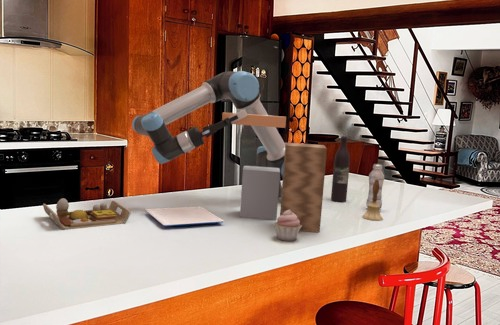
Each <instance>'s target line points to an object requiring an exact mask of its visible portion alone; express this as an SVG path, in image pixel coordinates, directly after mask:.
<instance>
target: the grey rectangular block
mask: <svg viewBox="0 0 500 325" xmlns="http://www.w3.org/2000/svg"><path fill="white" fill-rule="evenodd" d="M279 179H280V180H281V177H280V169H279V168H272V167H257V166H256V165H243V168H242V177H241V180H242V181H241V190H240V191H241V195H240V196H241V197H240V209H239V210H240V211H239V218H245V219H246V218H247V219H260V220H272V221H273V220H274V221H275V220H276V221H277V219H278V217H277V216H278V205H279V197H278V193H279Z"/></svg>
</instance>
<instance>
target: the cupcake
mask: <svg viewBox="0 0 500 325" xmlns="http://www.w3.org/2000/svg"><path fill="white" fill-rule="evenodd" d="M273 226H274V228H275V231H276V238H277V239H278V240H280V241H284V242H293V241H296V240H297V238H298V234H299V230H300V228H301V227H302V225H300V221H299V219H298V217H297V216H296V215H295V214H294V213H293V212H291V211H290V210H287V211H285V212H284V213H283V214H282V215H281V216H280V215H279V216H278V217H277V220H276V221H275V223H273Z"/></svg>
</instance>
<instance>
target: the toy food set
mask: <svg viewBox="0 0 500 325" xmlns="http://www.w3.org/2000/svg"><path fill="white" fill-rule="evenodd" d="M42 206H43V210H44V212H45V214H46V215H47V216H48V217H49V218H50V219H51V220H52V221H53V222H54V223H56V225H58V226H59V227H60V228H61V230H62V229H63V230H64V231H66V230H67V231H68V230H75V229H84V228H85V229H86V228H96V227H103V226H112V225H116V226H117V225H124V224H126V222H127V221H128V220H129V218H130V216H131V210H130V209H129V208H127V207H126V206H124V205H122V204H121V203H120V202H117V201H116V200H111V201H110V204H109V205H107V203H105V202H102V203H100V205H99V204H94V205H93V206H92V209H91V210H90V209H89V210H83V209H75V210H73V211H69V207H70V206H69V202H68V200H67V199H66V198H63V197H62V198H60V199H59V200H58V201H57V203H56V205H55V207H56V211H54V210H52V209H51V208H50V207H49V206H48V205H47V204H46V203H43V204H42ZM118 209H120V210H121V213H120V212H118V211H117V210H118Z"/></svg>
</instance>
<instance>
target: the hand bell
mask: <svg viewBox="0 0 500 325" xmlns="http://www.w3.org/2000/svg"><path fill="white" fill-rule="evenodd" d="M378 192H379V180H377V179H376V180H375V182H374V184H373V200H372V203H371V204H369V205H368V208H367V207H366V208H367V209H366V210H365V213H363V215H362V218H363V219H365V220H368V221H383V220H384V218H383V216H382V215H381V212H380V210H381V209H379V205H377V204H376V201H377V194H378Z"/></svg>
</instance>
